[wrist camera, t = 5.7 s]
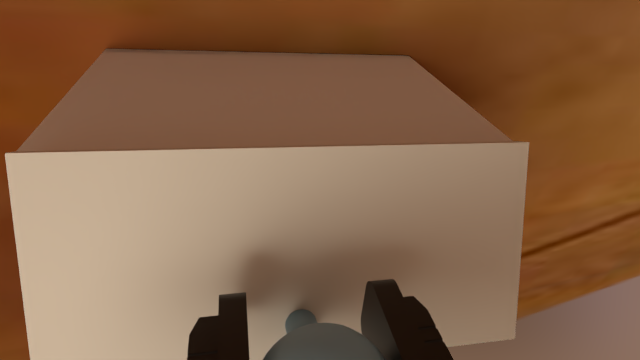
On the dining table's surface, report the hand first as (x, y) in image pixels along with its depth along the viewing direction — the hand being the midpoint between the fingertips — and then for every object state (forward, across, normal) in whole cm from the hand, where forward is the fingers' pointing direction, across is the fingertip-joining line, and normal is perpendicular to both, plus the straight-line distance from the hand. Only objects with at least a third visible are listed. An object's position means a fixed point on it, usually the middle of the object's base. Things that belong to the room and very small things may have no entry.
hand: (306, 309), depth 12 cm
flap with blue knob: (+2, 0, 0) cm, 2 cm away
